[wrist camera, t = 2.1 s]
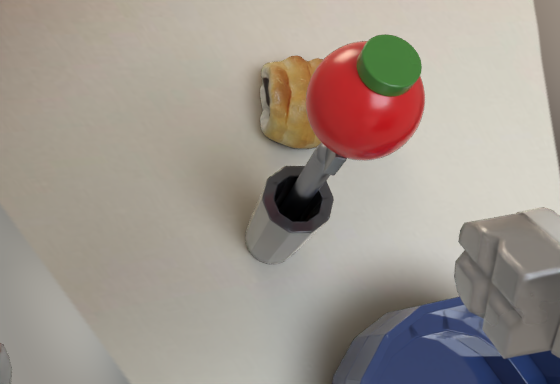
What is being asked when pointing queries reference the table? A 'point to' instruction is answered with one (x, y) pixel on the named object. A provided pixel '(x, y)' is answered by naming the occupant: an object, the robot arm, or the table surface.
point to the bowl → (438, 351)
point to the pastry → (287, 102)
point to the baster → (358, 110)
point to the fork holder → (284, 219)
